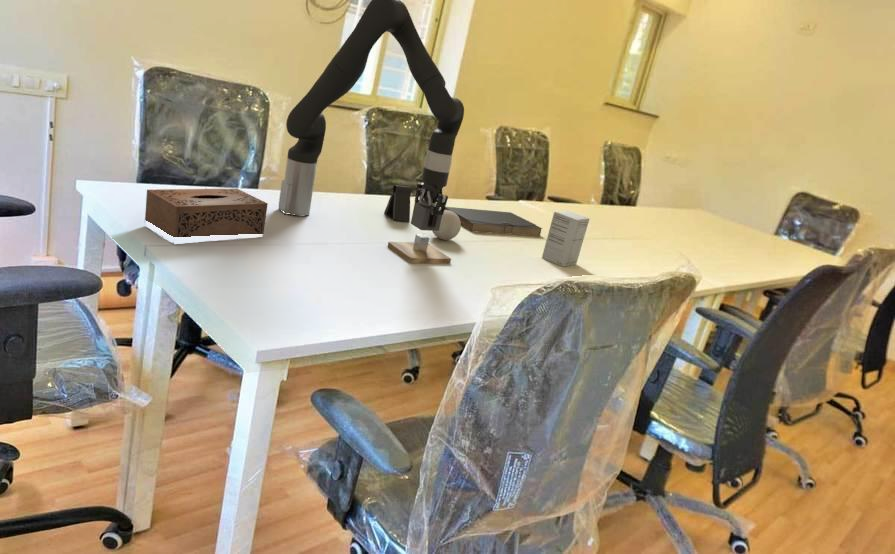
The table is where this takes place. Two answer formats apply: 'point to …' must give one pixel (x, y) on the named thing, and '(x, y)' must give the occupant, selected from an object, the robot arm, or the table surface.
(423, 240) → the matte grey cube
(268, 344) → the table surface
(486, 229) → the file folder
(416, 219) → the knob
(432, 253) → the base plate
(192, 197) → the tissue box cover
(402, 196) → the phone stand
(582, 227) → the supplement box
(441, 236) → the eye model
